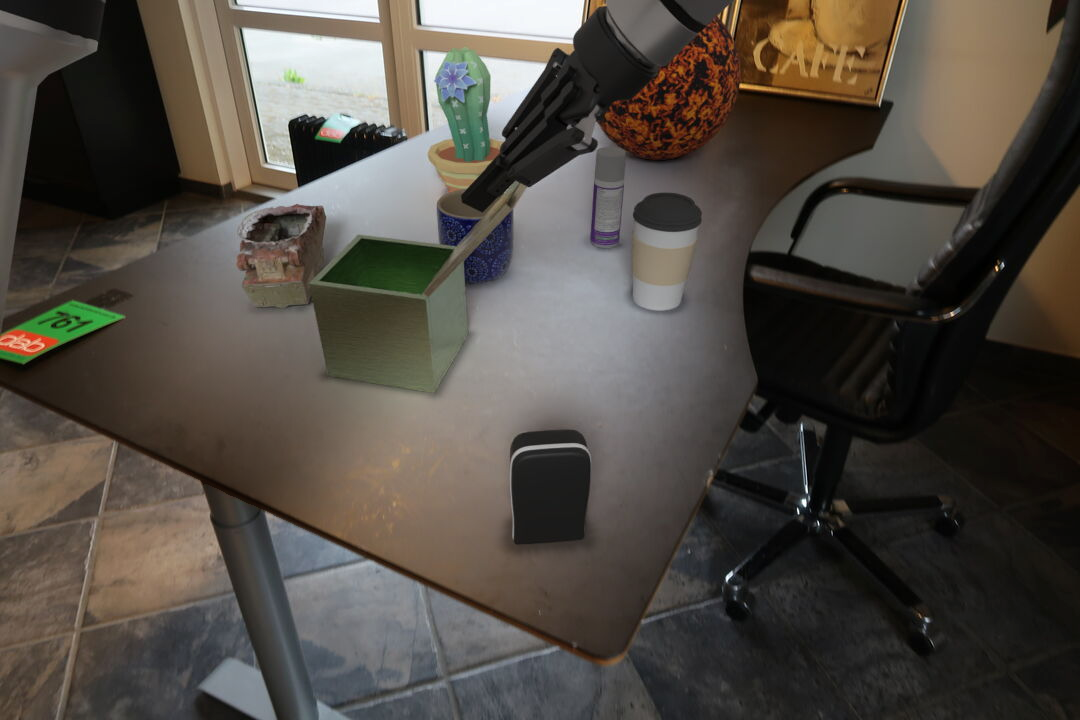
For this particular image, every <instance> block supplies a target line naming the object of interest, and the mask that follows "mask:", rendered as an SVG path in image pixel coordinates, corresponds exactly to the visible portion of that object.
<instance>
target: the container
mask: <svg viewBox="0 0 1080 720" xmlns="http://www.w3.org/2000/svg"><path fill="white" fill-rule="evenodd" d="M626 157H627V152H626V151H625V150H623V149H621V148H620V147H618V146H604V147H600V148H597V150H596V155H595V167H594V178H593V191H592V207H591V223H590V244H591V245H593V246H594V247H597V248H600V249H611V248H616V247H617V246H618V245H619V243H620V236H621V235H620V234H621V223H622V211H623V202H624V201H623V200H624V189H625V176H626V159H627V158H626Z"/></svg>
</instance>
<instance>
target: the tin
mask: <svg viewBox="0 0 1080 720" xmlns="http://www.w3.org/2000/svg"><path fill="white" fill-rule="evenodd" d="M456 247H457V246H449V245H441V244H439V243H434V242H423V241H415V240H409V239H408V240H407V239H400V238H399V239H398V238H392V237H391V238H390V237H382V236H373V235H366V234H365V235H364V234H357V235H356V236H355V237H354V238H353V239H352V240H351V241H350V242H349V243H347V245H345V247H344V248H343V249H342V250H341V251H340V252H339V253H338V254H337V255H336V256H335V257H334V258H333V259H331V261H330V262H329V263H328V264H327V265H326V266H325V267H323V269H321V271H320V273H319V274H318V275H317V276H316V277H315V278H314V279H313V280H312V281H311V282H310V283H309V286H310V291H311V296H310V297H311V300H312V304H313V309H314V315H315V319H316V324H317V329H318V335H319V339H320V340H319V341H320V344H321V349H322V354H323V359H324V364H325V369H326V374H327V376H328V377H332V378H337V379H342V380H343V379H344V380H351V381H356V382H363V383H370V384H374V385H375V384H376V385H381V386H388V387H395V388H401V389H407V390H414V391H420V392H424V393H425V392H426V393H432V394H435V393H436V391H437V390H438V388H439V386H440V385H441V383H442V381H443V379H444V378H445V376H446V374H447V372H448V370H449V369H450V367H451V365H452V364H453V362H454V360H455V358H456V357H457V355H458V353H459V351H460V349H461V348H462V347H463V344H464V342H465V341H466V339H467V337H468V335H469V334H468V314H467V297H466V282H465V277H464V261H463V262H462V263H461V264H460V265H459V266H458V267H457V268H456V269H455V270H454V272H453V273H452V274H451V275H450V276H449V277H448V278H447V279H446V280H445V281H444V282H443V283H442V284H441V285H440V286H439V287H438V288H437V289H436V290H435V291H434V292H433V294H432V295H431V296H430V297H427V296H426V295H425V294H424V293H423V292H424V290H425V289H426V288H427V286H428V285H429V284H430V282H431V281H432V279H433V278H434V277H435V275H436V274H437V273H438V271H439V270H440V268H441V267H442V266H443V264H444V263H445V262H446V260H447V259H448V257H449V256H450V255H451V253H452V252H453V251H454V249H455V248H456Z"/></svg>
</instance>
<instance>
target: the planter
mask: <svg viewBox="0 0 1080 720" xmlns="http://www.w3.org/2000/svg"><path fill="white" fill-rule="evenodd" d="M465 190H466V189H461V190H456V191H453V192H450V193H448V192H447V193H446V194H444V195H442V196H441V197H440V198H438V200H436V225H437V233H438V234H437V235H438V244H441V245H449V246H457V245H458V244H459V242H460V241H461V240H462V239H463V238H464V237H465V236H466V235H467V234H468V232H469V231H470V230H471V229H472V228H473V227H474V226H475V225H476V224H477V223H478V222H479V221H480V219H481V218H482V217H483V216H484V215H485V214H486V213H487V212H488V211H489V210H490V209H491V208H492V207H493V205H494V204H495V203H496V202H497V201H498V200H499V199H500V198H501V197H502V196H503V195H504V194H505V192H504V193H503V194H502V195H501V196H500V197H498V198H497V199H496V200H495V201H494V202H493V203H492V204H491V205H490V206H489V207H488V208H487V209H486V210H485V211H484V212H483V213H482V212H480V211H478V210H476V209H474V208H472V207H470V206H468V205H466V204H464V203H462V200H461V195H462V194H463V193H464V192H465ZM514 230H515V229H514V209H513V210H512V211H511V212H510V213H509V214H508V215H507V216H506V217H505V218H504V219H503V220H502V221H501V222H500V223H499V224H498V225H497V227H496V228H495V229H494V230H493V231H492V232H491V233H490V234H489V235H488V236H487V237H486V238H485V239H484V240H483V241H482V242H481V243H480V244H479V245H478V246H477V247H476V249H475V250H474V251H473V252H472V253H471V254H470V255H469V256H468V257H467V258H466V259H465V260H464V277H465V283H472V284H479V283H487V282H491V281H494V280H496V279H498V278H499V277H501V276H502V275H503V274H504V273H505V272H506V271H507V270H508V268H509V266H510V265H511V262H512V258H513V252H514V251H513V250H514Z"/></svg>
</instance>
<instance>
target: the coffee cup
mask: <svg viewBox="0 0 1080 720" xmlns="http://www.w3.org/2000/svg"><path fill="white" fill-rule="evenodd" d="M633 209H634V210H633V213H632V217H633V220H634V221H633V226H634V227H633V229H632V248H631V253H632V254H631V273H632V300H633V302H634V304H636V305H637V306H639V307H641V308H643V309H645V310H651V311H657V312H659V311H661V312H663V311H670V310H673V309H675V308H677V307H678V306H680V304H681V303H682V298H683V294H684V290H685V287H686V281H687V279H688V277H689V273H690V270H691V265H692V261H693V256H694V253H695V249H696V244H697V240H698V232H699V227H700V225H701V224H702V222H703V219H702V216H703V212H702V209H701V208H700V207H699V206H698V205H696V202H695V201H694V199H693V198H691V197H689V196H687V195H684V194H681V193H678V192H677V193H676V192H666V191H665V192H655V193H651V194H647V195H646V196H645V197H644V198H643V199H642V200H641V201H639V202H638V203H636V205H635V206H634V207H633Z"/></svg>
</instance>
